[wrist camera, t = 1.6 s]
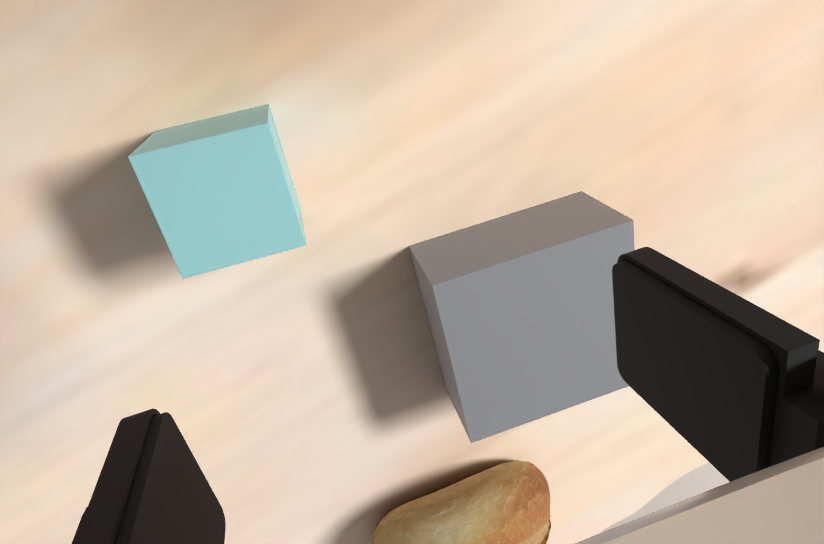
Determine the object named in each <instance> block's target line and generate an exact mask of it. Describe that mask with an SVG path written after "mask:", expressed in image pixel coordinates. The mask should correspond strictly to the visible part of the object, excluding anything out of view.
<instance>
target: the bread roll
mask: <svg viewBox="0 0 824 544" xmlns="http://www.w3.org/2000/svg"><path fill="white" fill-rule="evenodd" d="M550 529H551V522H550V493H549V487H548V483H547V481H546V479H545V477H544V475H543V474H542V472H541V471H540V470H539V469H538V468H537V467H536V466H535V465H533V464H532V463H529V462H522V461H518V460H516V461H512V462H506V463H502V464H499V465H497V466H495V467H492V468H489V469H487V470H485V471H482V472H480V473H478V474H475V475H472V476H470V477H468V478H466V479H463V480H461V481H459V482H457V483H454V484H452V485H450V486H448V487H445V488H443V489H440V490H438V491H436V492H433V493H431V494H429V495H426V496H422V497H420V498H417V499H415V500H412V501H410V502H407V503H405V504H403V505H401V506H399V507H397V508H395V509H393V510H392V511H390V512H389V513H387V514H386V515H385V516H384V517H383V518H382V520H381V521H380V522H379V524H378V526H377V528H376V530H375V531H374V533H373V544H546V542H547V540H548V537H549V532H550Z"/></svg>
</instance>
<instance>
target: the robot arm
mask: <svg viewBox="0 0 824 544" xmlns="http://www.w3.org/2000/svg"><path fill="white" fill-rule="evenodd" d="M612 281H613V299H614V317H615V336H616V354H617V367H618V370H619V373H620V375H621V377H622V378H623V380H624V381H625V382H626V383H627V384H628V385H629V386H630V387H631V388H632V389H633V390H634V391H635V392H636V393H637V394H639V395H640V396H641V397H642V398H643V399H644V400H645V401H646V402H647V403H648V404H649V405H650V406H651V407H652V408H653V409H654V410H655V411H656V412H657V413H658V414H660V415H661V416H662V417H663V418H664V419H665V420H666V421H667V422H668V423H669V424H670V425H671V426H672V427H673V428H674V429H675V430H676V431H677V432H678V433H679V434H680V435H682V436H683V437H684V438H685V439H686V440H687V441H688V442H689V443H690V444H691V445H692V446H693V447H694V448H695V449H696V450H697V451H698V452H699V453H700V454H701V455H703V456H704V457H705V458H706V459H707V460H708V461H709V462H710V463H711V464H712V465H713V466H714V467H715V468H716V469H717V470H718V471H719V472H720V473H721V474H722V475H724V476H725V477H726V478H727V479H728V480H729V481H730V482H729V483H727V484H724V485H721V486H719V487H716V488H714V489H711V490H709V491H706V492H704V493H701V494H699V495H696V496H694V497H691V498H689V499H686V500H684V501H681V502H679V503H676V504H674V505H671V506H668V507H666V508H664V509H661V510H658V511H656V512H653V513H651V514H648V515H646V516H644V517H641V518H638V519H636V520H633V521H631V522H628V523H626V524H623V525H621V526H618V527H615V528H613V529H610V530H608V531H605V532H603V533H600V534H598V535H595V536H593V537H590V538H588V539H585V540H583V541H581V542H578V543H576V544H824V353H823V352H821V351H819V350H818V348H819V341H820V340H819V339H817V338H815V337H813V336H811V335H809V334H808V333H806V332H804V331H802V330H800V329H798V328H797V327H795V326H793V325H791V324H789V323H787V322H786V321H784V320H782V319H780V318H778V317H776V316H775V315H773V314H771V313H769V312H767V311H765V310H764V309H762V308H760V307H758V306H756V305H754V304H753V303H751V302H749V301H747V300H745V299H743V298H742V297H740V296H738V295H736V294H734V293H732V292H730V291H729V290H727V289H725V288H723V287H721V286H719V285H718V284H716V283H714V282H712V281H710V280H708V279H707V278H705V277H703V276H701V275H699V274H697V273H696V272H694V271H692V270H690V269H688V268H686V267H685V266H683V265H681V264H679V263H677V262H675V261H674V260H672V259H670V258H668V257H666V256H664V255H663V254H661V253H659V252H657V251H655V250H653V249H652V248H649V247H643V248H640V249H637V250H634V251H631V252H628V253H625V254H622V255H620V256H619V258H618V261H617V263H616V264H614V265H613V268H612ZM224 539H225V517H224V513H223V510H222V507H221V505H220V504H219V502H218V500H217V498H216V496H215V494H214V493H213V491H212V489H211V487H210V485H209V483H208V482H207V480H206V478H205V476H204V474H203V473H202V471H201V469H200V467H199V465H198V463H197V462H196V460H195V458H194V456H193V454H192V452H191V451H190V449H189V447H188V445H187V443H186V441H185V440H184V438H183V436H182V434H181V432H180V431H179V429H178V427H177V425H176V423H175V421H174V420H173V418H172V416H171V415H170V414H169V413H167V412H166V413H163V414H160V413H159V411H157V410H156V409H150V410H147V411H144V412H141V413H138V414H135V415H132V416H129V417H126V418H124V419H122V420H121V421H120V423H119V425H118V428H117V431H116V433H115V436H114V439H113V441H112V444H111V447H110V449H109V452H108V455H107V457H106V460H105V463H104V465H103V468H102V471H101V473H100V476H99V479H98V481H97V484H96V487H95V490H94V492H93V495H92V498H91V500H90V503H89V506H88V507H87V508H86V510H85V512H84V514H83V515H82V518H81V521H80V523H79V526H78V529H77V531H76V534H75V537H74V539H73V542H72V544H224Z"/></svg>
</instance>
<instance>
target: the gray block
mask: <svg viewBox="0 0 824 544" xmlns="http://www.w3.org/2000/svg"><path fill="white" fill-rule="evenodd" d="M409 249H410V253H411V257H412V260H413V264H414V268H415V272H416V276H417V280H418V283H419V287H420V291H421V295H422V299H423V303H424V306H425V310H426V314H427V318H428V322H429V326H430V329H431V333H432V337H433V341H434V345H435V349H436V352H437V356H438V360H439V364H440V368H441V371H442V375H443V379H444V383H445V387H446V390H447V392H448V394H449V396H450V398H451V401H452V403H453V405H454V407H455V409H456V411H457V413H458V416H459V418H460V420H461V422H462V424H463V426H464V428H465V431H466V433H467V435H468V437H469V439H470V441H471V443H472V442H475V441H478V440H481V439H484V438H486V437H489V436H492V435H495V434H497V433H500V432H503V431H506V430H508V429H511V428H514V427H517V426H520V425H522V424H525V423H528V422H531V421H533V420H536V419H539V418H542V417H544V416H547V415H550V414H553V413H556V412H558V411H561V410H564V409H567V408H569V407H572V406H575V405H578V404H581V403H583V402H586V401H589V400H592V399H594V398H597V397H600V396H603V395H605V394H608V393H611V392H614V391H617V390H619V389H622V388H625V387H628V386H629V385H628V384H627V383H626V382H625V381H624V380H623V378H622V377H621V375H620V373H619V370H618V367H617V354H616V336H615V317H614V299H613V281H612V268H613V265H614V264H616V263H617V261H618V258H619V256H620V255H622V254H625V253H628V252H631V251H634V228H633V220H632V219H630V218H628V217H627V216H625V215H623V214H621V213H619V212H618V211H616V210H614V209H612V208H611V207H609V206H607V205H605V204H603V203H602V202H600V201H598V200H596V199H594V198H593V197H591V196H589V195H587V194H585V193H584V192H582V191H581V192H578V193H575V194H572V195H569V196H565V197H562V198H559V199H556V200H553V201H550V202H547V203H543V204H540V205H537V206H534V207H531V208H528V209H524V210H521V211H518V212H515V213H512V214H509V215H505V216H502V217H499V218H496V219H493V220H490V221H487V222H483V223H480V224H477V225H474V226H471V227H468V228H464V229H461V230H458V231H455V232H452V233H449V234H445V235H442V236H439V237H436V238H433V239H430V240H427V241H423V242H420V243H417V244H414V245H411V246H409Z"/></svg>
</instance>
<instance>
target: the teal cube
mask: <svg viewBox="0 0 824 544" xmlns="http://www.w3.org/2000/svg"><path fill="white" fill-rule="evenodd" d="M128 158H129V160H130V162H131V165H132V167H133V169H134V171H135V174H136V176H137V178H138V180H139V183H140V185H141V187H142V189H143V191H144V194H145V196H146V198H147V200H148V203H149V205H150V207H151V209H152V211H153V214H154V216H155V218H156V220H157V223H158V225H159V227H160V229H161V232H162V234H163V236H164V238H165V240H166V243H167V245H168V247H169V249H170V252H171V254H172V256H173V258H174V261H175V263H176V265H177V267H178V269H179V272H180V274H181V276H182V278H183V279H184V278H188V277H191V276H195V275H199V274H202V273H206V272H210V271H213V270H217V269H221V268H224V267H228V266H232V265H235V264H239V263H243V262H246V261H250V260H254V259H258V258H261V257H265V256H269V255H272V254H276V253H280V252H283V251H287V250H291V249H294V248H298V247H302V246H305V245H306V240H305V233H304V227H303V220H302V213H301V207H300V204H299V201H298V197H297V194H296V191H295V188H294V184H293V181H292V178H291V175H290V172H289V168H288V165H287V162H286V159H285V155H284V152H283V149H282V146H281V142H280V139H279V136H278V133H277V129H276V126H275V123H274V120H273V117H272V113H271V110H270V107H269V104H267V105H263V106H259V107H255V108H250V109H246V110H242V111H238V112H234V113H229V114H225V115H221V116H217V117H212V118H208V119H204V120H200V121H196V122H191V123H187V124H183V125H179V126H175V127H170V128H166V129H162V130H158V131H155V132H154V133H153V134H152V135H150V136H149V137H148V138H147V139H146V140H145V141H144V142H143V143H142V144H141V145H140V146H139V147H138V148H137V149H136V150H135V151H134V152H132V153H131V154H130V155H129V156H128Z"/></svg>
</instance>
